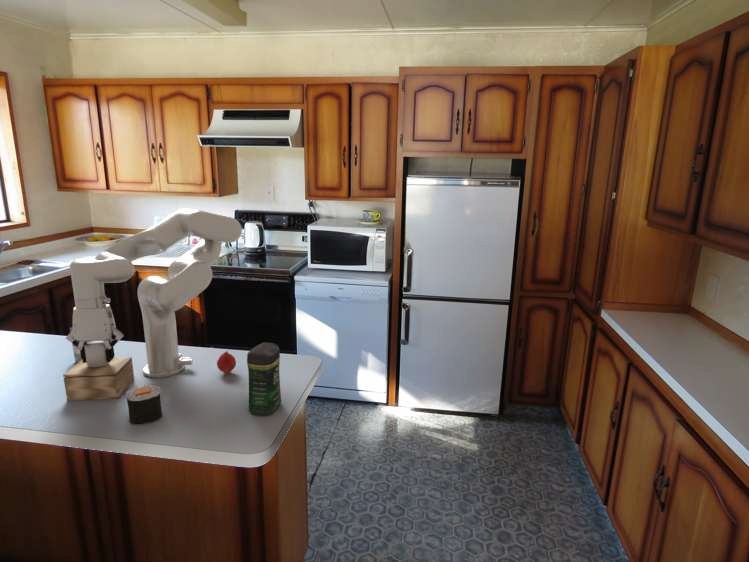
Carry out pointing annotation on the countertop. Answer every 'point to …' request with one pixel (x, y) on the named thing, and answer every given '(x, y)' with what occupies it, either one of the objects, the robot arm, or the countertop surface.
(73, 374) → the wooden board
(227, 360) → the onion
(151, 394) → the sushi
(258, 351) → the coffee jar
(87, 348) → the cream-capped white cylinder
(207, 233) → the robot arm
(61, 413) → the countertop surface
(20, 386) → the countertop surface
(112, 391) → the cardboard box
